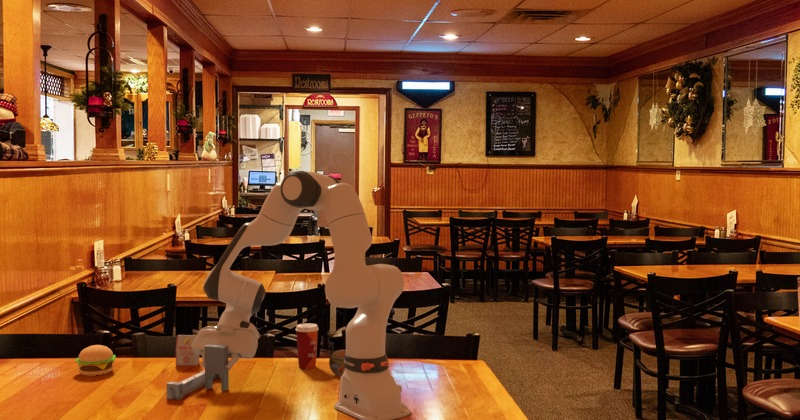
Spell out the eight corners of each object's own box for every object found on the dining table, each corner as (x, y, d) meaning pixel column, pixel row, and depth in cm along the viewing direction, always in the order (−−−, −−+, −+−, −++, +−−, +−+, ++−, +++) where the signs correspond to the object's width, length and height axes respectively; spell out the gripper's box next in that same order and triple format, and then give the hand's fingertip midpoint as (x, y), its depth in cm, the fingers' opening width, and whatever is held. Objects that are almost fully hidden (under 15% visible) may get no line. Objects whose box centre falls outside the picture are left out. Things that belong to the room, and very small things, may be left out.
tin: (328, 374, 238) (328, 348, 237) (333, 372, 241) (333, 346, 240) (369, 381, 231) (369, 354, 230) (374, 378, 234) (374, 352, 233)
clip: (228, 388, 222) (228, 345, 221) (224, 391, 219) (223, 347, 219) (209, 386, 224) (209, 344, 223) (205, 389, 221) (204, 346, 220)
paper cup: (317, 370, 243) (317, 328, 242) (293, 370, 243) (293, 327, 242) (320, 363, 250) (320, 322, 249) (297, 363, 251) (297, 322, 250)
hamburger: (107, 377, 234) (106, 350, 233) (69, 377, 234) (68, 350, 233) (122, 367, 246) (121, 341, 245) (86, 367, 246) (85, 341, 245)
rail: (211, 376, 236) (211, 362, 235) (222, 377, 235) (222, 363, 234) (166, 398, 213) (166, 383, 212) (179, 400, 212) (178, 384, 211)
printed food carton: (179, 363, 251) (179, 333, 250) (199, 363, 251) (198, 334, 250) (175, 366, 247) (175, 336, 247) (196, 366, 247) (195, 336, 246)
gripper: (198, 320, 230) (180, 359, 221) (257, 324, 224) (242, 364, 215) (205, 331, 235) (189, 370, 226) (264, 335, 229) (249, 375, 220)
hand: (215, 367), depth 221 cm, fingers closed on clip, 6 cm apart
